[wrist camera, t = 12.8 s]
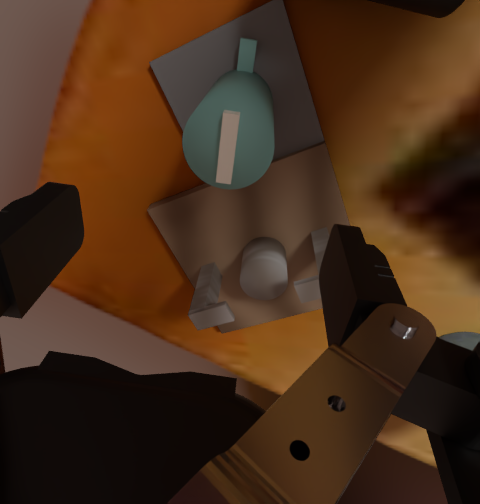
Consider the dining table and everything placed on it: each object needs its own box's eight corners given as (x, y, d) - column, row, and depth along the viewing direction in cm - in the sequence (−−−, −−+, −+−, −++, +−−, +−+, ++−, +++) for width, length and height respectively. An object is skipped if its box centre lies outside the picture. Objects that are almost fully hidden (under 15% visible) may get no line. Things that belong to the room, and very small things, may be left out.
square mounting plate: (323, 138, 29) (339, 176, 22) (368, 288, 37) (389, 349, 30) (150, 204, 33) (120, 252, 26) (223, 325, 41) (213, 386, 34)
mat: (281, -4, 24) (281, -5, 24) (323, 138, 29) (324, 140, 28) (151, 61, 27) (149, 62, 26) (209, 181, 32) (209, 184, 31)
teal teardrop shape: (214, 33, 25) (184, 46, 16) (284, 44, 25) (291, 64, 16) (204, 155, 30) (176, 217, 21) (263, 164, 30) (259, 230, 21)
